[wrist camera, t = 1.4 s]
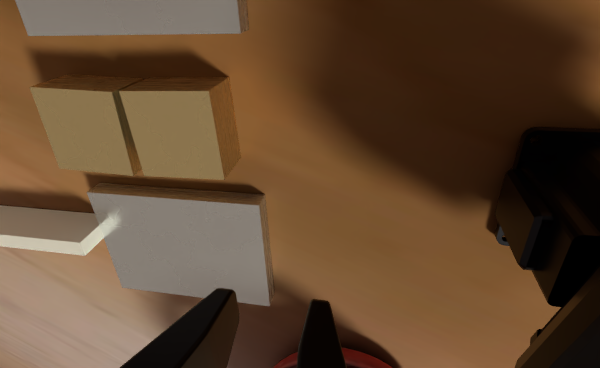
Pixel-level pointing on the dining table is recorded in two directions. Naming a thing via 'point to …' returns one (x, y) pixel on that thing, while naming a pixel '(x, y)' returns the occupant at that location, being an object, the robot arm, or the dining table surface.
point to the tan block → (183, 126)
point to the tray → (49, 230)
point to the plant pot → (356, 362)
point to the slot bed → (160, 200)
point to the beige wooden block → (88, 123)
